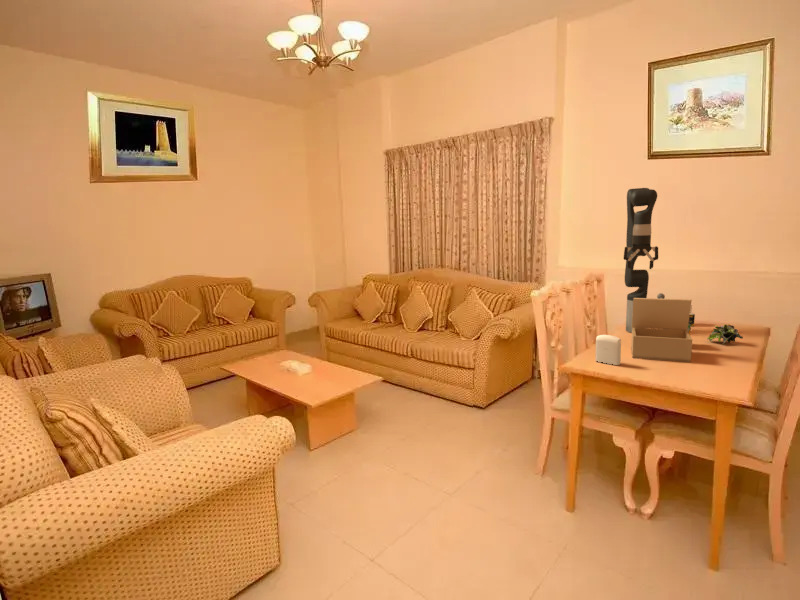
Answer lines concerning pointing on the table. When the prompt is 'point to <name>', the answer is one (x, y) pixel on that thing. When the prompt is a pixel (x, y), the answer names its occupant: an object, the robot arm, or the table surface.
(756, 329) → the table surface
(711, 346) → the table surface
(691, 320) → the medicine bottle
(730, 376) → the table surface
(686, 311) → the carton flap
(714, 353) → the table surface
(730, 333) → the green leafy plant
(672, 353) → the carton
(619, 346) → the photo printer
